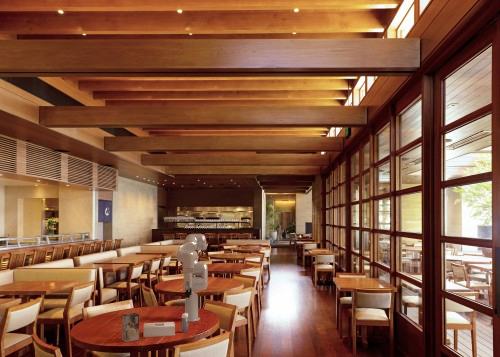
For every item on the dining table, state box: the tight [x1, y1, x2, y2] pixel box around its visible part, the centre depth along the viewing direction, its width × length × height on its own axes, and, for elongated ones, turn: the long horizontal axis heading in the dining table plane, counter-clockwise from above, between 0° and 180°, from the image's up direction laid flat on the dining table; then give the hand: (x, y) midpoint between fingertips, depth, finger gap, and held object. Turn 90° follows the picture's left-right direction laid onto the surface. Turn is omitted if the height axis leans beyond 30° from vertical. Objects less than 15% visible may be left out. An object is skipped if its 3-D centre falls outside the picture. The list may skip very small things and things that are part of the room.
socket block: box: [143, 321, 176, 338], centre depth 317 cm, size 12×20×6 cm, turn 101°
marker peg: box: [181, 312, 189, 334], centre depth 322 cm, size 4×4×12 cm
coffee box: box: [121, 312, 140, 343], centre depth 303 cm, size 9×6×16 cm
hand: (188, 296), depth 321 cm, fingers open, 9 cm apart
